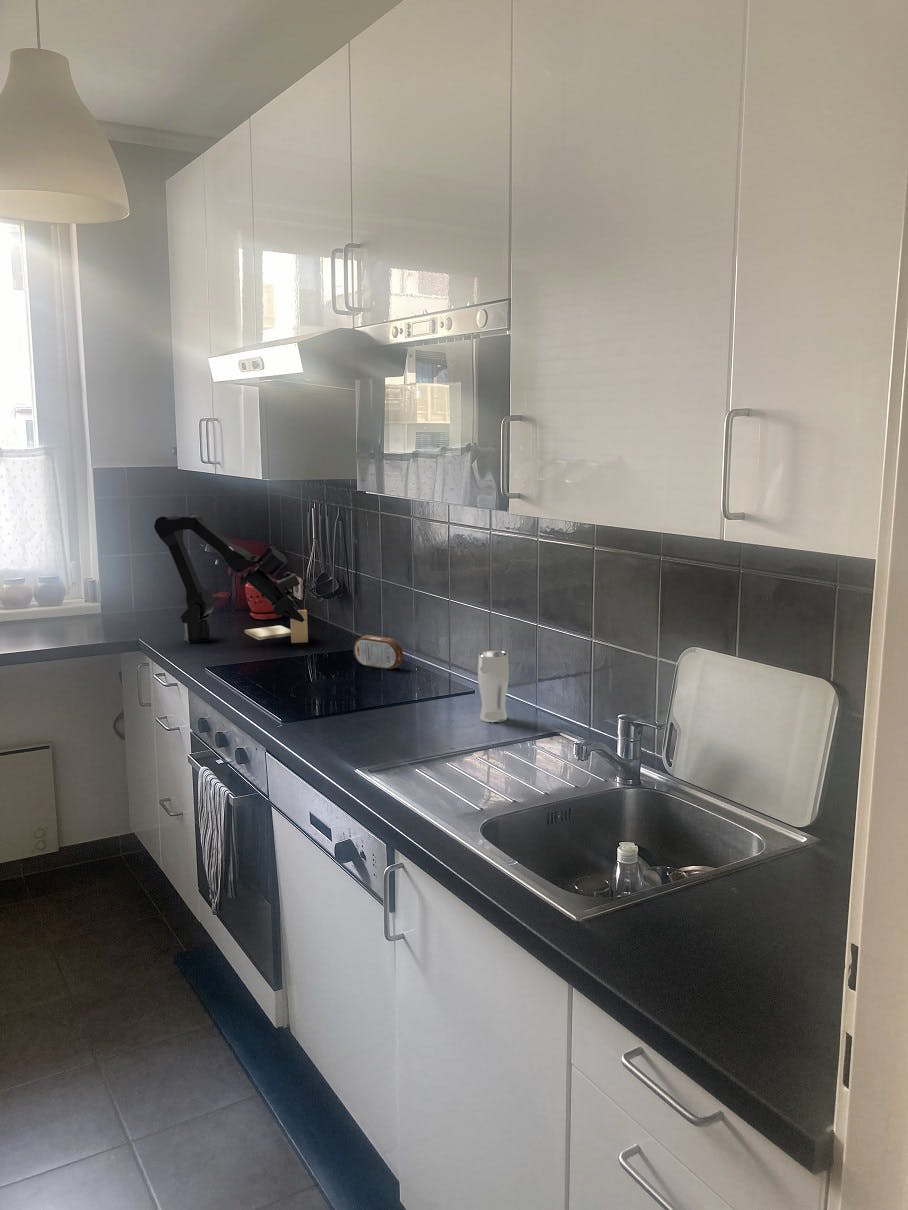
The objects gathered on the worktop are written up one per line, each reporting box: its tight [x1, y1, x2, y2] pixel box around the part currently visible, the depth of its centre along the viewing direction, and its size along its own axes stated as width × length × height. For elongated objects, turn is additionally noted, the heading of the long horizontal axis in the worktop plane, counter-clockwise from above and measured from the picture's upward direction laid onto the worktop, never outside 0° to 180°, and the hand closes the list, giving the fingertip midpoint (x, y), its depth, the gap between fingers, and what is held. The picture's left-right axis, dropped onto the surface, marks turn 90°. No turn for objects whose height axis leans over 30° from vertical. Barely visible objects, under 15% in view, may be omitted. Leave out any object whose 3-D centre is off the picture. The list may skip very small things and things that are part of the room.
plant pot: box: [244, 579, 283, 621], centre depth 336 cm, size 13×13×12 cm
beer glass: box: [477, 649, 510, 724], centre depth 221 cm, size 7×7×15 cm
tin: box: [353, 634, 404, 670], centre depth 268 cm, size 15×3×8 cm, turn 58°
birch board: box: [244, 625, 291, 641], centre depth 311 cm, size 12×12×1 cm
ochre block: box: [289, 609, 309, 644], centre depth 301 cm, size 5×5×9 cm
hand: (303, 619), depth 300 cm, fingers closed on ochre block, 5 cm apart
